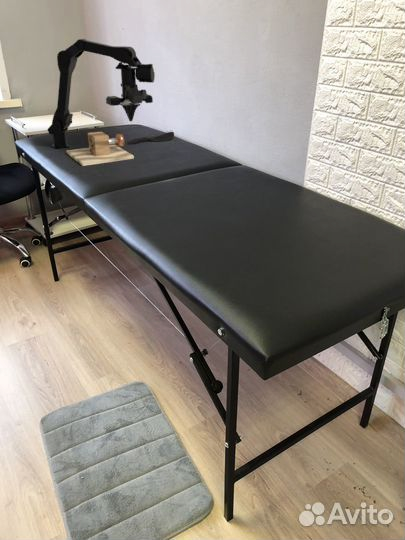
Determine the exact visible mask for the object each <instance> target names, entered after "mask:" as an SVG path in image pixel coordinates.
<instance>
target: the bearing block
mask: <svg viewBox="0 0 405 540" xmlns="http://www.w3.org/2000/svg"><path fill="white" fill-rule="evenodd" d="M109 139H110V137H109V135H108V134H106V133H105V132H103V131H94V132H87V141H88V147H84V148H76V149H71V150H70V149H69V150H68V149H67V150H66V155H68V156H69V157H71V158H72V159H73V160H74V161H76V162H77V163H78V164H80V165H81V166H82V167H83V166H91V165H92V166H93V165H99V164H105V163H106V164H107V163H113V162H118V161H127V160H134V158H135V156H134V155H133V154H132V153H130V152H128V151H126V150H124V149H123V148H121V146H120V147H118V146H117V144H110V145H109ZM92 141H93V145H92Z"/></svg>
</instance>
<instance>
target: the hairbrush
mask: <svg viewBox="0 0 405 540" xmlns="http://www.w3.org/2000/svg"><path fill="white" fill-rule="evenodd" d="M174 137H175V132H174V131H173V130H171V131H167V132H166V133H165V132H164V133H162V134H161V133H158V134H157V133H156V134H154V136H153V135H148V137H146V136H144V137H138V138H133V139H131V140H129V141H128V142H127V143H126V144H127V145H134V144H137V143H139V142H142V141H150V142H152V143H160V142H161V143H163V142H170V141H171V140H172V139H173V138H174Z"/></svg>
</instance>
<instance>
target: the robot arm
mask: <svg viewBox="0 0 405 540" xmlns="http://www.w3.org/2000/svg"><path fill="white" fill-rule="evenodd" d="M84 52H89V53H92V54H97V55H101V56H104V57H105V56H106V57H109V58H112V59H114V60H115V61H118V62H119V63H118V64H117V65H116V66H115V69H116V70H120V75H121V83H120V87H121V91H122V92H121V94H120V95H121V97H120V96H119V97H118V96H116V95H109V96H107V97H105V103H106V105H108V106H112V107H114V106H119V105H120V106H122V108H123V110H124V112H125V115H126V116H127V119H128V121H129V122H133V120H134V116H135V113H136V110H137V108H138V107H139V106H141V104H142V103H143V102H145V103H146V104H152V103H153V101H154V99H153V96H152V95H151V94H148V93H147V90H146V89H139V87H138V84H137V81H138V82H139V83H150V84H151V83H152V84H153V83H154V82H155V72H154V71H155V69H154V67H153V64H152V63H147V64H144V63H142V62H141V61H140V59H139V58H138V56H137V54H136V53H137V52H136V50H135V48H133V47H131V46H126V45H125V46H124V45H123V46H122V45H121V46H120V45H119V46H114V45H109V44H105V43H100V42H96V41H91V40H87V39H85V38H80V39H76V41H75V42H74V43H73V44H72V45H70V46H69V47H67V48H65V50H60V51H59V52H58V53H57V56H56V60H57V61H56V62H57V67H58V71H59V81H58V93H57V94H58V95H57V106H56V110H55V111H54V114H53V116H52V119H51V121H52V122H51V125H49V127H48V128H47V132H48V134H49V135H51V136H52V144H50V145H51V147H52V148H54V149H66V148H70V147H71V146H70V145H69V144H68V142H67V135H66V132H67V131H69V127H70V126H71V124H72V123H73V116H74V114H73V113H70V110H69V109H70V107H69V106H70V99H71V98H70V96H71V88H72V87H71V86H72V76H73V72H74V70H75V69H76V65H77V62H78V59H79V58H80V57H81V56H82V54H84Z"/></svg>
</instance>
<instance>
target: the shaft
mask: <svg viewBox="0 0 405 540" xmlns="http://www.w3.org/2000/svg"><path fill="white" fill-rule="evenodd" d="M92 145H93V141H92ZM109 145H116V146H118V147H120V148H121V147H124V146H125V136H124V135H123V134H122V133H118V134H115V137H112V138H110V137H109Z"/></svg>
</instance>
